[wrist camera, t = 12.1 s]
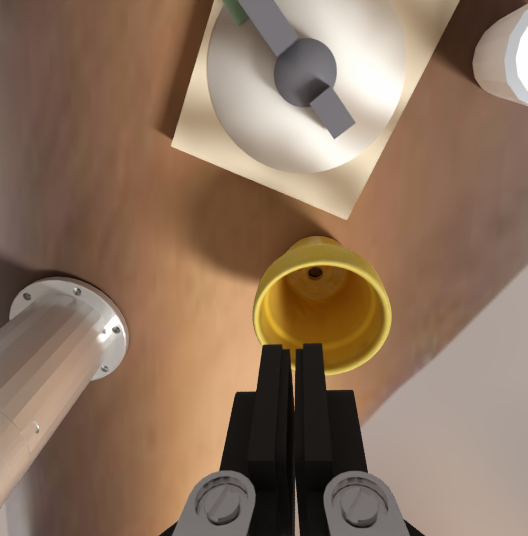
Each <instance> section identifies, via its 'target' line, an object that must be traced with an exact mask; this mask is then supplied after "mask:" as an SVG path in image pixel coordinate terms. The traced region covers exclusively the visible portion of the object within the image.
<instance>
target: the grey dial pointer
mask: <svg viewBox="0 0 528 536" xmlns="http://www.w3.org/2000/svg"><path fill="white" fill-rule="evenodd" d="M238 2H239V3H240V5H241V6H242V7H243V9H244V10H245V12H246V13H247V15H248V16H249V18H250V19H251V20H252V22H253V23H254V25H255V26H256V28H257V29H258V30H259V32H260V33H261V35H262V36H263V38H264V39H265V41H266V42H267V43H268V45H269V46H270V48H271V49H272V51H273V52H274V54H275V55H276V56H277V60H276V63H275V67H274V81H275V85H276V88H277V90H278V92H279V94H280V95H281V96H282V98H283V99H284V100H285V101H287V102H288V103H290V104H292V105H294V106H297V107H312V108H313V110H314V111H315V112H316V114H317V115H318V117H319V118H320V120H321V121H322V123H323V124H324V125H325V127H326V128H327V130H328V131H329V133H330V134H331V136H332V137H333V138H334V139H336V138H337V137H338V136H340V135H341V134H342V133H344V132H345V131H346V130H347V129H349V128H350V127H351V126H353V125H354V124H355V123H356V122H355V121H354V119H353V118H352V116H351V115H350V113H349V112H348V110H347V109H346V107H345V106H344V104H343V103H342V101H341V100H340V98H339V97H338V95H337V94H336V92H335V91H334V89H333V87H334V85H335V82H336V77H337V66H336V61H335V58H334V55H333V54H332V52H331V50H330V49H329V48H328V47H327V46H326V45H325V44H324V43H322V42H320V41H319V40H316V39H312V38H301V39H299V38H298V36H297V34H296V33H295V31H294V30H293V28H292V27H291V25H290V24H289V22H288V21H287V19H286V18H285V16H284V15H283V13H282V12H281V10H280V9H279V7H278V6H277V4H276V3H275V1H274V0H238Z"/></svg>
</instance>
